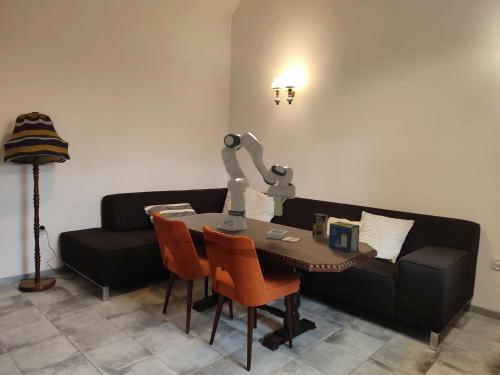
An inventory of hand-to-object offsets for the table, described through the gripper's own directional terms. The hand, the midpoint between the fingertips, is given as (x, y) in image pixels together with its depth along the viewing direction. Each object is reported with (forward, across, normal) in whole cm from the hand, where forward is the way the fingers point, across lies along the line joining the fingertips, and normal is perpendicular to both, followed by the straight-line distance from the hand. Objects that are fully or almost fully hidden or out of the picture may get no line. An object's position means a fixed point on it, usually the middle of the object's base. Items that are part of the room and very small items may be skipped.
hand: (278, 201), depth 251 cm
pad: (+20, +12, +14) cm, 28 cm away
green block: (+6, 0, +7) cm, 9 cm away
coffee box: (+7, +27, +28) cm, 39 cm away
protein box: (+23, +47, +12) cm, 54 cm away
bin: (+17, 0, +18) cm, 25 cm away
